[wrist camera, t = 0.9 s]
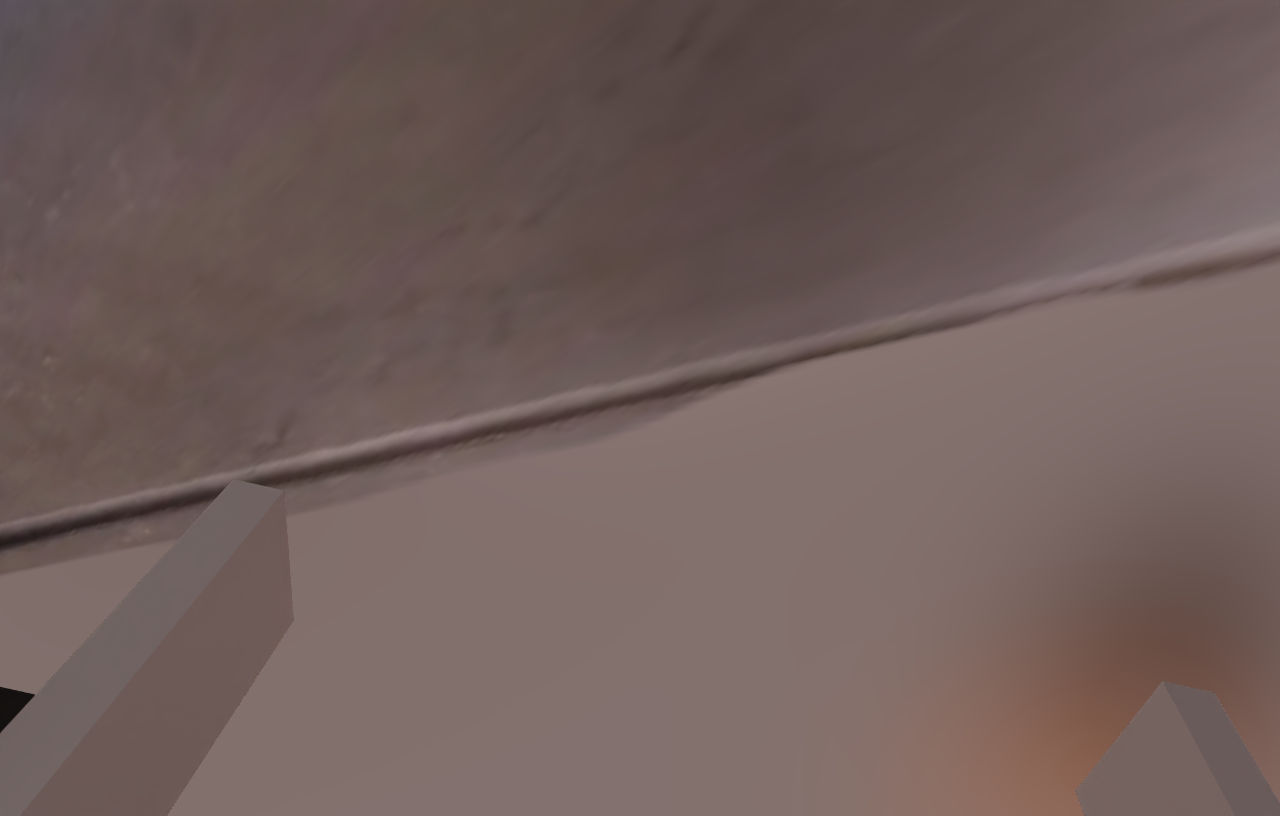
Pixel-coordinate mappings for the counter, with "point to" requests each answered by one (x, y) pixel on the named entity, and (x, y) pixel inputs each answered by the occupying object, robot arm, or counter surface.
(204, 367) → the counter surface
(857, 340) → the counter surface
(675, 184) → the counter surface
